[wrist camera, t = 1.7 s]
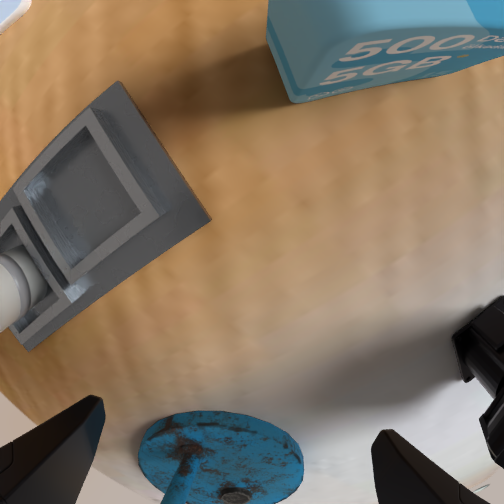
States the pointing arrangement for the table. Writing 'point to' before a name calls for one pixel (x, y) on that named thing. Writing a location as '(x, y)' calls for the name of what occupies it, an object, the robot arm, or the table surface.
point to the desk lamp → (220, 459)
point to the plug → (19, 285)
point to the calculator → (12, 12)
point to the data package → (378, 41)
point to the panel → (95, 210)
